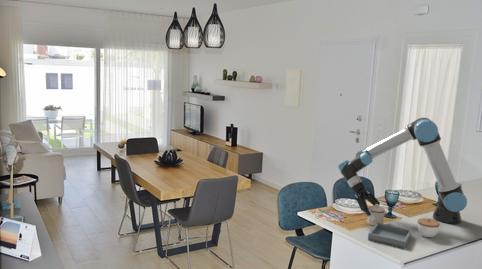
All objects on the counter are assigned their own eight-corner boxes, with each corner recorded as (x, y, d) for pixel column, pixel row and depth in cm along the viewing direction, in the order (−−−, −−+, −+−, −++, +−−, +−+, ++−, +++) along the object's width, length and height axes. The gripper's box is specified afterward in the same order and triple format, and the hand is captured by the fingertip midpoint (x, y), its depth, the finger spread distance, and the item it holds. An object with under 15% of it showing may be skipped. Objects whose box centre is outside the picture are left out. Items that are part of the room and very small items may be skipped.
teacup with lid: (386, 224, 237) (388, 204, 235) (377, 227, 231) (379, 207, 229) (368, 218, 246) (370, 199, 244) (359, 221, 240) (361, 202, 238)
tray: (411, 236, 220) (411, 230, 220) (404, 248, 205) (405, 241, 205) (376, 228, 230) (377, 222, 229) (367, 239, 214) (368, 233, 214)
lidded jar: (428, 240, 216) (430, 223, 214) (412, 233, 225) (413, 216, 224) (442, 237, 220) (444, 220, 219) (426, 230, 230) (427, 214, 228)
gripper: (362, 185, 254) (383, 217, 245) (341, 191, 240) (363, 225, 231) (370, 178, 249) (393, 211, 240) (350, 184, 235) (372, 219, 226)
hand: (378, 218), depth 235 cm, fingers closed on teacup with lid, 9 cm apart
